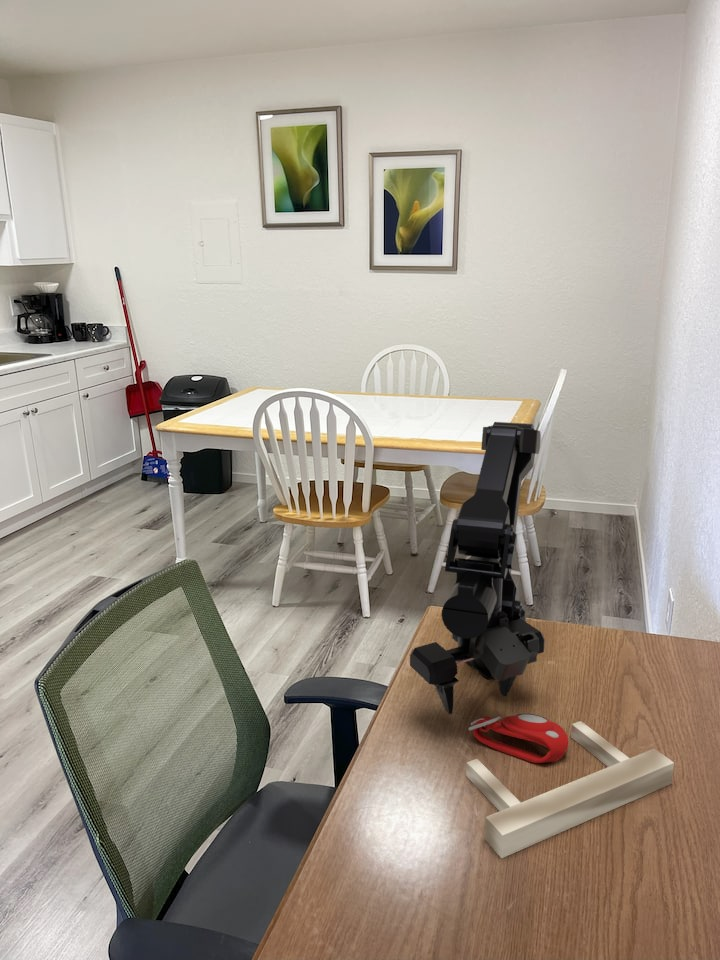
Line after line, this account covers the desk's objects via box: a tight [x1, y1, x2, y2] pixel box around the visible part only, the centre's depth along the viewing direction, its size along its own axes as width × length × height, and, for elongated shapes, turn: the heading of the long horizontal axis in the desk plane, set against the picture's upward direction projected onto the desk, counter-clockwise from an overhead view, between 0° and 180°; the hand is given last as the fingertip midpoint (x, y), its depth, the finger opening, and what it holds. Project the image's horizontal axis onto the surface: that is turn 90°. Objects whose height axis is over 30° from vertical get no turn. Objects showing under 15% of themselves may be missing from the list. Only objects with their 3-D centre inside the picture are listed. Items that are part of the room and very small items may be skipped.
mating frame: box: [465, 720, 675, 859], centre depth 88 cm, size 12×25×3 cm, turn 116°
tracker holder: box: [468, 713, 569, 764], centre depth 96 cm, size 12×4×10 cm
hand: (476, 703), depth 103 cm, fingers open, 9 cm apart
